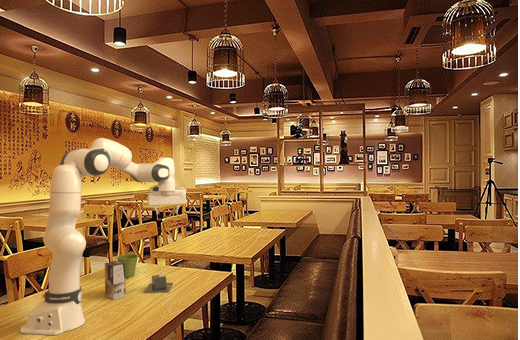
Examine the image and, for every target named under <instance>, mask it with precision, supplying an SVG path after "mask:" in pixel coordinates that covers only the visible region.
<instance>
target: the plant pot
mask: <svg viewBox="0 0 520 340" xmlns="http://www.w3.org/2000/svg"><path fill="white" fill-rule="evenodd" d="M138 258H139V255H138V254H134V253H133V254H132V253H130V254H129V253H128V254H127V253H126V254H120V255H118V256H117V257H116V259H117V261H119V262H122V263H125V279H127V278H133V277H134V276H135V273H136V268H137V262H138Z"/></svg>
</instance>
